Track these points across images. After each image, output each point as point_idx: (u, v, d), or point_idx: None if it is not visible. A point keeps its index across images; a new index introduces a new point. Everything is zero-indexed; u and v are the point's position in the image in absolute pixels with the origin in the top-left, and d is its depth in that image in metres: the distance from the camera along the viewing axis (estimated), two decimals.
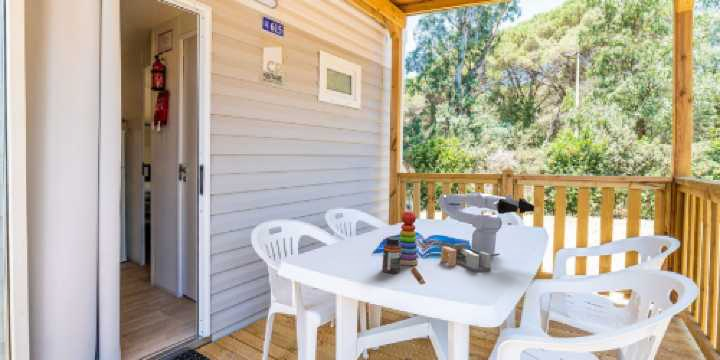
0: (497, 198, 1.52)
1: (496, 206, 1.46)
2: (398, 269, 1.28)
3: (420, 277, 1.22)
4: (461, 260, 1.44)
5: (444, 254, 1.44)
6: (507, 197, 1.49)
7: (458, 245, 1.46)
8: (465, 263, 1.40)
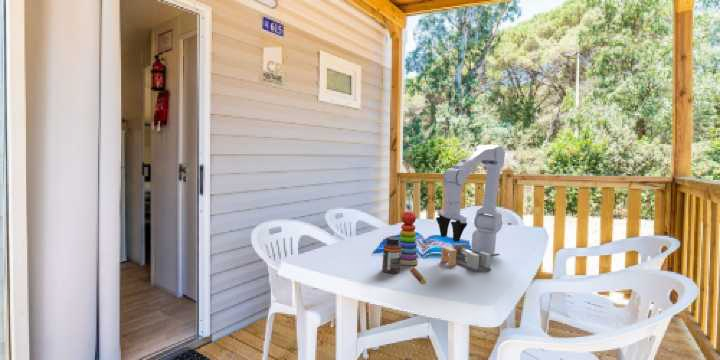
0: (444, 203, 1.42)
1: (440, 215, 1.48)
2: (398, 269, 1.28)
3: (420, 277, 1.22)
4: (461, 260, 1.44)
5: (444, 254, 1.44)
6: (443, 215, 1.41)
7: (458, 245, 1.46)
8: (465, 263, 1.40)
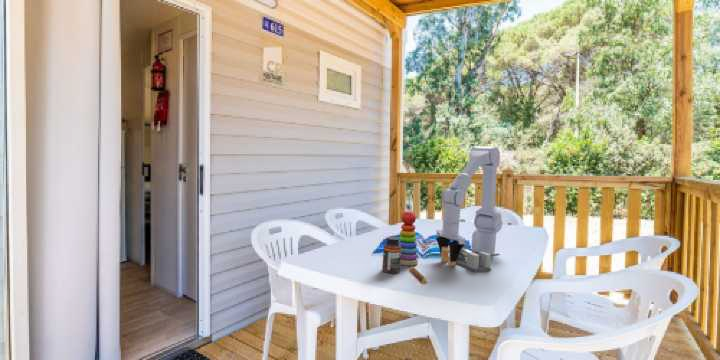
0: (443, 223, 1.42)
1: None
2: (398, 269, 1.28)
3: (421, 277, 1.22)
4: (461, 260, 1.44)
5: (444, 254, 1.44)
6: None
7: None
8: (465, 263, 1.40)
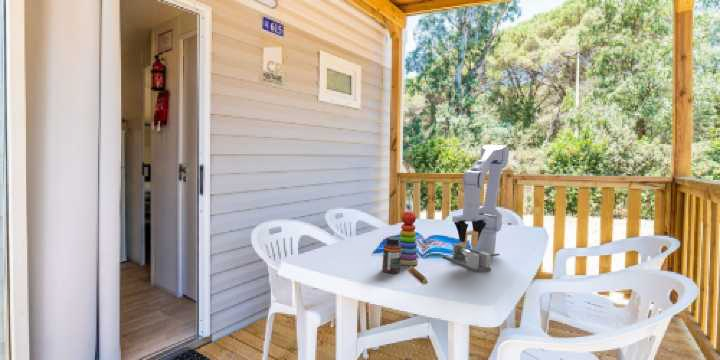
0: (471, 207, 1.39)
1: (455, 221, 1.39)
2: (398, 269, 1.28)
3: (422, 277, 1.22)
4: (461, 260, 1.44)
5: None
6: (474, 219, 1.39)
7: (458, 245, 1.46)
8: (465, 263, 1.40)
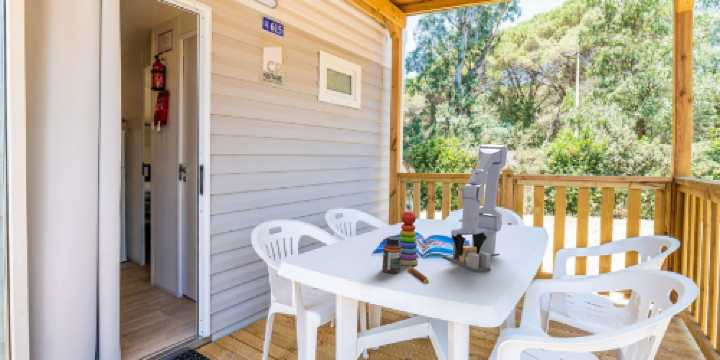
0: (470, 221, 1.39)
1: None
2: (398, 269, 1.28)
3: (423, 277, 1.22)
4: None
5: None
6: (473, 233, 1.39)
7: None
8: (465, 263, 1.40)
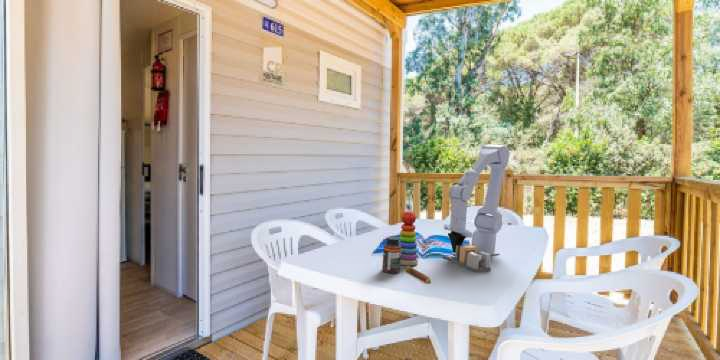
0: None
1: None
2: (398, 269, 1.28)
3: (424, 277, 1.22)
4: None
5: None
6: None
7: None
8: (465, 263, 1.40)
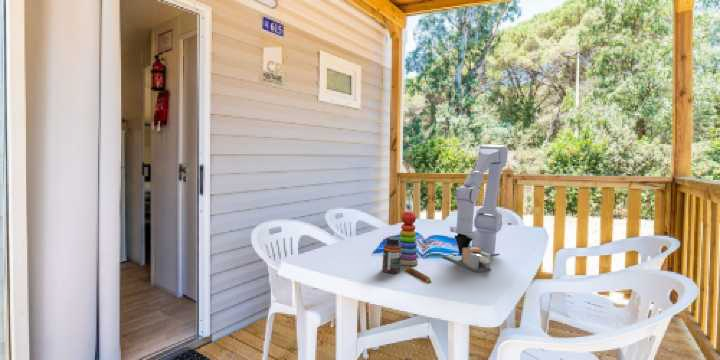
0: (457, 220, 1.45)
1: (453, 231, 1.51)
2: (398, 269, 1.28)
3: (424, 277, 1.22)
4: None
5: None
6: None
7: None
8: None
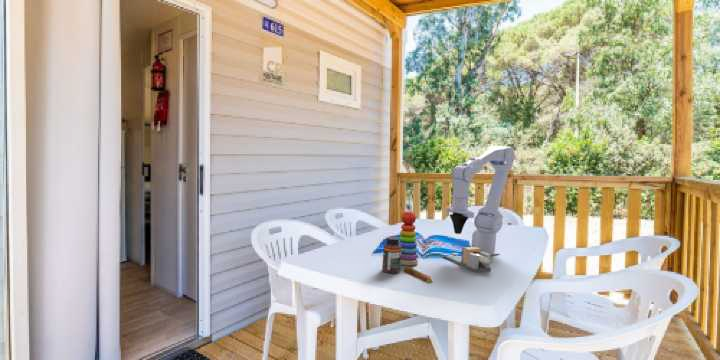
0: None
1: None
2: (398, 269, 1.28)
3: (425, 277, 1.22)
4: None
5: None
6: (451, 211, 1.47)
7: None
8: None
